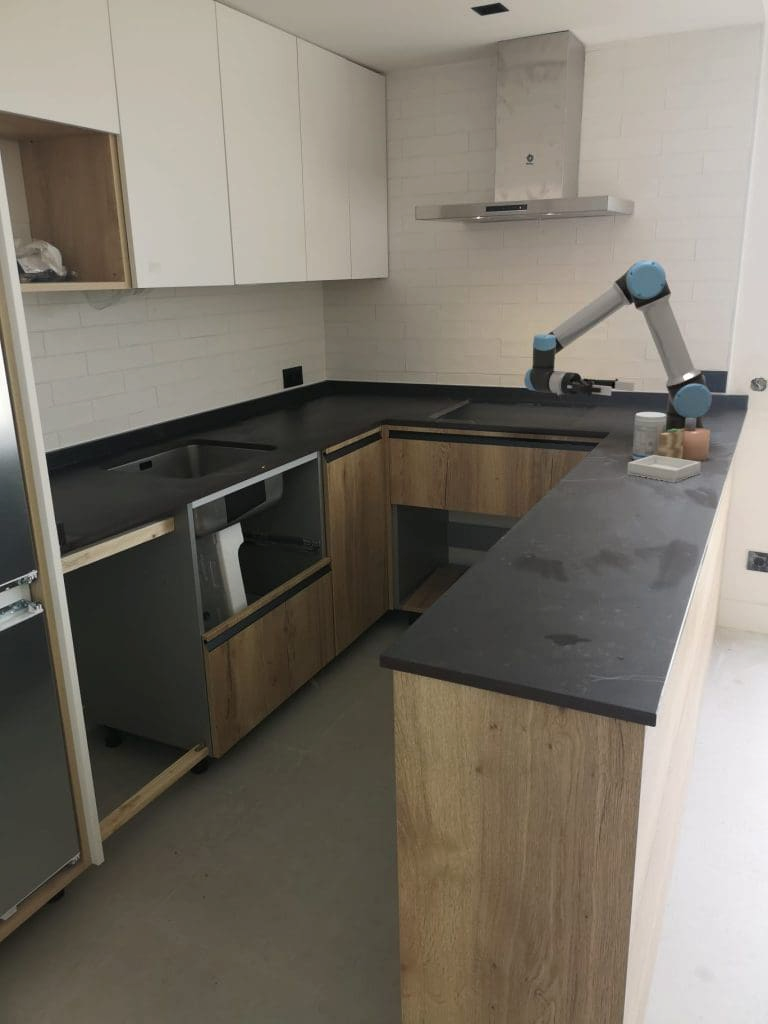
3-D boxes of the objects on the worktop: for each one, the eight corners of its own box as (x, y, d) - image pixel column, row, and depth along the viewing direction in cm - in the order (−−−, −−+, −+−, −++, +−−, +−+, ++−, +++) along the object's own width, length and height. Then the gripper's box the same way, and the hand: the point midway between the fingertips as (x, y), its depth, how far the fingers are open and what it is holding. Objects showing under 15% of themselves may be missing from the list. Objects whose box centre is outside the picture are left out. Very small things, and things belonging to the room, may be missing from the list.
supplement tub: (647, 455, 262) (650, 410, 258) (670, 460, 254) (674, 414, 250) (625, 459, 258) (628, 413, 254) (648, 464, 250) (651, 417, 246)
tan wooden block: (676, 459, 255) (678, 426, 252) (681, 460, 254) (685, 427, 251) (656, 466, 248) (659, 432, 245) (662, 467, 246) (665, 433, 243)
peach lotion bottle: (686, 453, 264) (689, 414, 260) (712, 457, 257) (716, 417, 254) (672, 458, 258) (676, 418, 254) (699, 462, 251) (703, 421, 248)
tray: (653, 465, 248) (653, 454, 247) (699, 473, 237) (700, 462, 236) (627, 474, 238) (627, 462, 237) (674, 482, 228) (675, 470, 227)
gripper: (586, 390, 282) (641, 396, 267) (543, 398, 265) (600, 405, 250) (587, 369, 279) (643, 373, 265) (544, 375, 263) (601, 380, 248)
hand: (622, 389), depth 257 cm, fingers open, 13 cm apart
